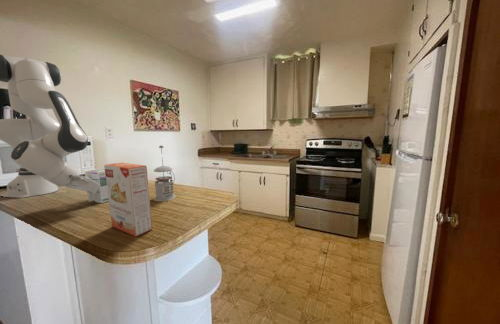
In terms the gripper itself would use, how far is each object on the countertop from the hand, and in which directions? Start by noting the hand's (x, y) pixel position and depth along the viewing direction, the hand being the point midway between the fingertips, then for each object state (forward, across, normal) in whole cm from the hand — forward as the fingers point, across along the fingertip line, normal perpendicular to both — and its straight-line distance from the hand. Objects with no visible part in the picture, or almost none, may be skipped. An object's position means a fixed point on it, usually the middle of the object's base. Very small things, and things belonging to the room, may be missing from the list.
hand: (94, 192), depth 91 cm
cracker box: (-4, -39, +11) cm, 41 cm away
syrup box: (+6, 0, +1) cm, 6 cm away
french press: (+17, -23, -9) cm, 30 cm away
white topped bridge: (+9, +1, -2) cm, 10 cm away
